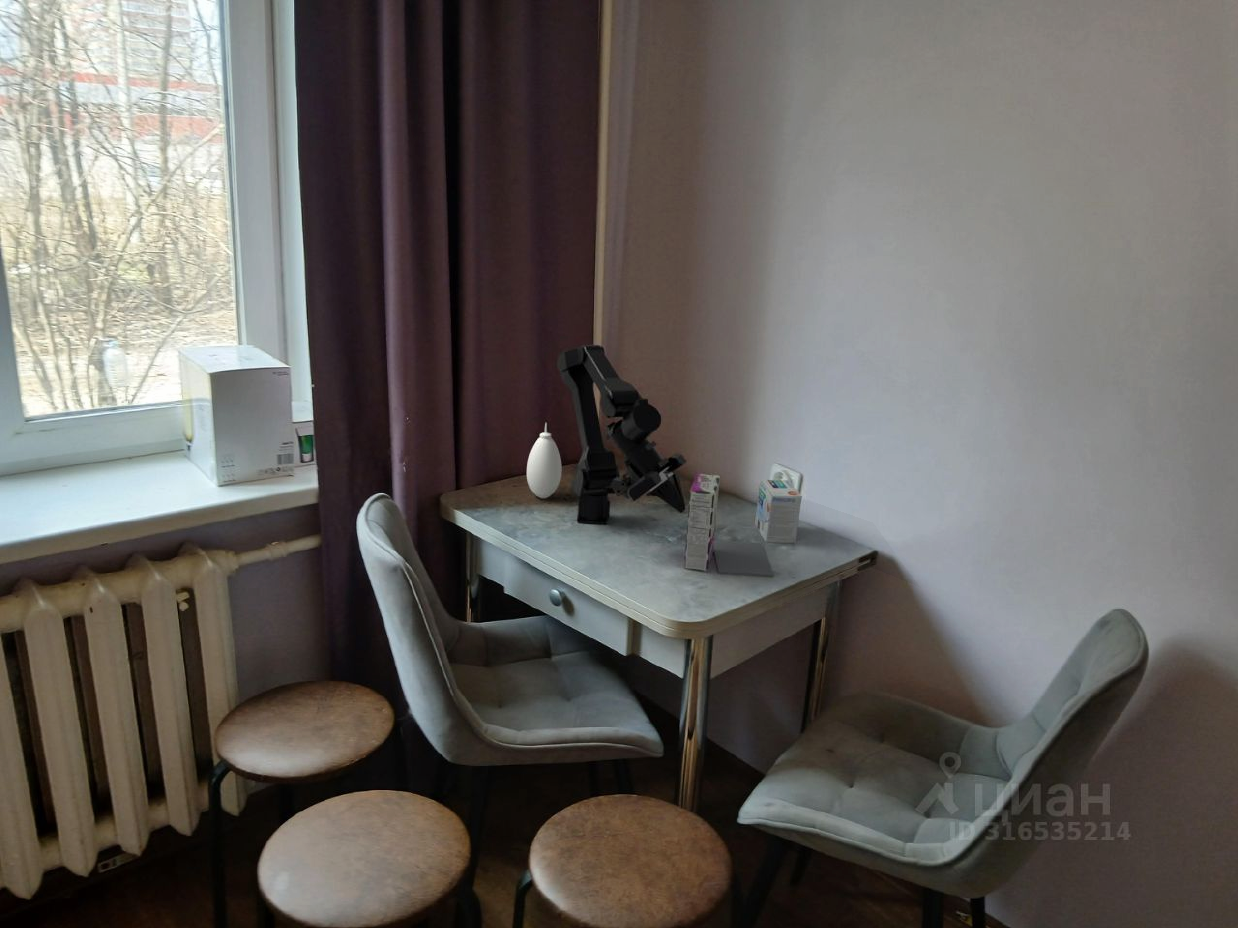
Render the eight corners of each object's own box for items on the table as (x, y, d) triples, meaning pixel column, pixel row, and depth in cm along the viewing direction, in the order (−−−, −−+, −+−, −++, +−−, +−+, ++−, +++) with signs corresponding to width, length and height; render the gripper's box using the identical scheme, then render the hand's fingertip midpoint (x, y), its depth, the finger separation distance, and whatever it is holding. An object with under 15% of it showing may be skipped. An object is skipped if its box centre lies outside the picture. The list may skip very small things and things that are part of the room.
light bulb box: (754, 524, 194) (759, 478, 191) (783, 525, 195) (789, 479, 191) (765, 543, 184) (771, 495, 181) (796, 543, 184) (803, 496, 181)
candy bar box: (689, 547, 179) (696, 472, 174) (713, 551, 178) (721, 475, 173) (682, 569, 168) (689, 489, 163) (707, 572, 167) (715, 492, 162)
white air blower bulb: (566, 496, 203) (570, 422, 198) (546, 505, 197) (549, 428, 192) (540, 489, 207) (542, 416, 202) (519, 497, 201) (521, 422, 196)
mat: (718, 573, 167) (718, 571, 167) (711, 541, 182) (711, 539, 182) (772, 576, 167) (773, 575, 167) (761, 544, 182) (761, 543, 182)
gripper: (624, 458, 182) (669, 517, 182) (587, 481, 166) (636, 547, 165) (663, 428, 177) (709, 490, 177) (629, 449, 161) (679, 517, 160)
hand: (683, 511), depth 170 cm, fingers closed
